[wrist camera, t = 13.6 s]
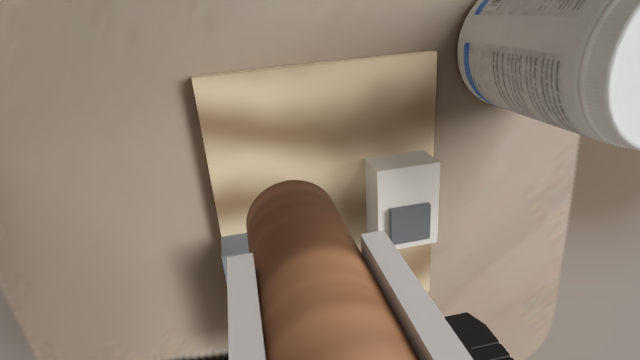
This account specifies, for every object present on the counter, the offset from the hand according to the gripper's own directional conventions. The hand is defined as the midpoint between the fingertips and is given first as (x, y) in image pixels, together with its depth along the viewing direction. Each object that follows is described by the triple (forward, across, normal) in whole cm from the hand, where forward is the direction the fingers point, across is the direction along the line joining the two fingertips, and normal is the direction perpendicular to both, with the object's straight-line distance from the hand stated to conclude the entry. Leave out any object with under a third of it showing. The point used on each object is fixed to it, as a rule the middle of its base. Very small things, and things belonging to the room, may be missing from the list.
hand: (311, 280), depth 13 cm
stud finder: (+20, +10, -8) cm, 24 cm away
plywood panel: (+21, +5, -8) cm, 23 cm away
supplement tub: (+21, +20, +3) cm, 29 cm away
